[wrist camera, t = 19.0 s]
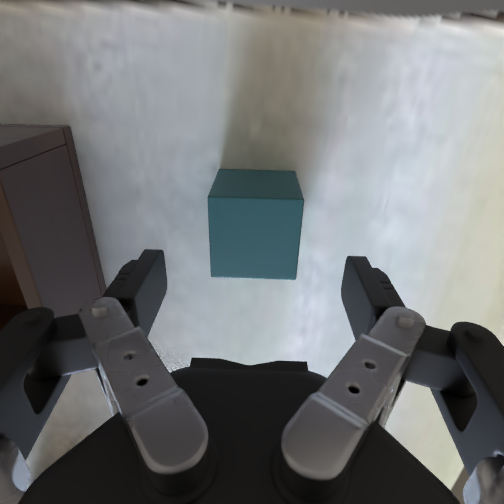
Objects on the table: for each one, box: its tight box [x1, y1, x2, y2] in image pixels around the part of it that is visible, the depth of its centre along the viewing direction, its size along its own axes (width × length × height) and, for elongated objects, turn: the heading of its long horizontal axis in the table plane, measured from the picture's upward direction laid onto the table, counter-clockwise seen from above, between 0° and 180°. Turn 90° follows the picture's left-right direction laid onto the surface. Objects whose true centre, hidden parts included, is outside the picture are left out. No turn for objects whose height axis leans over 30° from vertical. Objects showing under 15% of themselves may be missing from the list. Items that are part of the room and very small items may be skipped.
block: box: [208, 169, 304, 280], centre depth 20 cm, size 5×5×5 cm
